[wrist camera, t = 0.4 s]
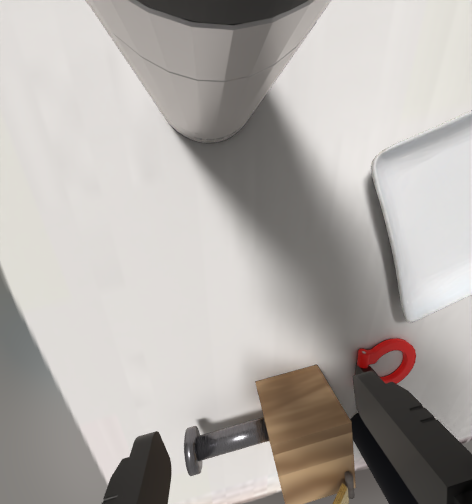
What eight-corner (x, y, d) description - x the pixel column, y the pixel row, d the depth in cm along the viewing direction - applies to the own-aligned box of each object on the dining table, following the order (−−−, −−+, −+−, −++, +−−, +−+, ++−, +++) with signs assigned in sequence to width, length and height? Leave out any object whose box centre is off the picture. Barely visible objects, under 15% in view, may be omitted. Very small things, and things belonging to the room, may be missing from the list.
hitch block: (255, 381, 31) (273, 455, 23) (316, 364, 32) (356, 431, 23) (269, 438, 35) (289, 519, 27) (324, 422, 36) (360, 497, 27)
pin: (195, 442, 31) (193, 485, 27) (186, 419, 30) (182, 460, 25) (285, 416, 32) (298, 454, 27) (281, 393, 30) (293, 428, 26)
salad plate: (533, 71, 24) (585, 54, 20) (529, 245, 31) (568, 253, 27) (349, 159, 24) (371, 156, 21) (387, 311, 31) (408, 327, 28)
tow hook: (413, 331, 33) (355, 343, 32) (541, 419, 21) (455, 445, 19) (404, 375, 36) (351, 388, 34) (513, 476, 23) (436, 502, 22)
